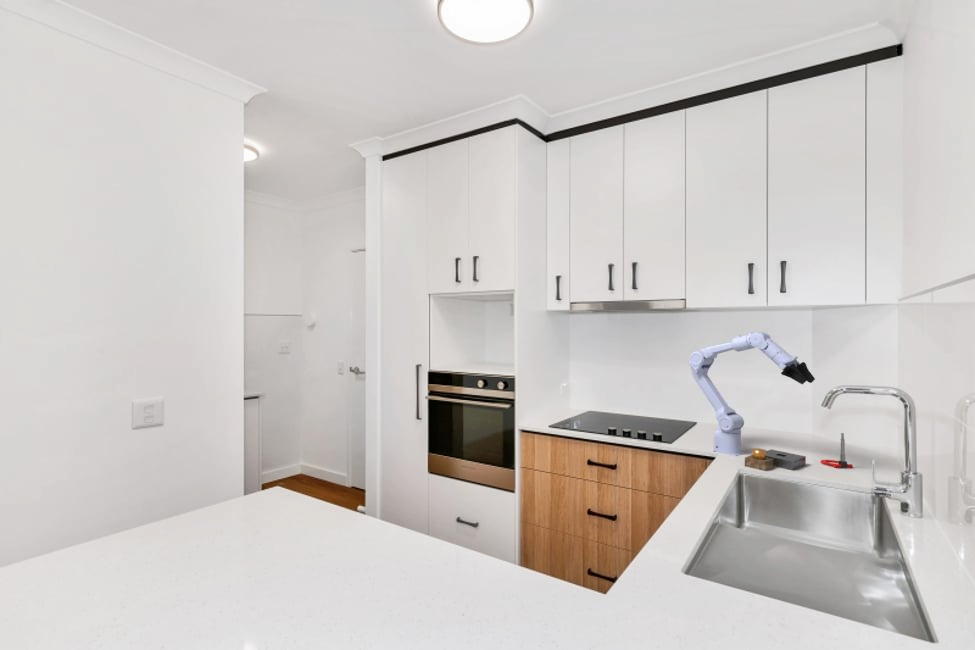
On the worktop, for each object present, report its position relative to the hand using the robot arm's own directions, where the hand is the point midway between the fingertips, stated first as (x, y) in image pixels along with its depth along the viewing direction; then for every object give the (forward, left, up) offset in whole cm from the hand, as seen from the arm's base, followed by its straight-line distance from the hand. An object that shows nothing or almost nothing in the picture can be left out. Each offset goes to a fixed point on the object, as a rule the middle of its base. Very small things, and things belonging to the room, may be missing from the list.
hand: (808, 381), depth 173 cm
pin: (-12, -11, -32) cm, 36 cm away
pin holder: (-12, -11, -32) cm, 36 cm away
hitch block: (-9, 0, -32) cm, 33 cm away
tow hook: (+3, +17, -33) cm, 37 cm away
